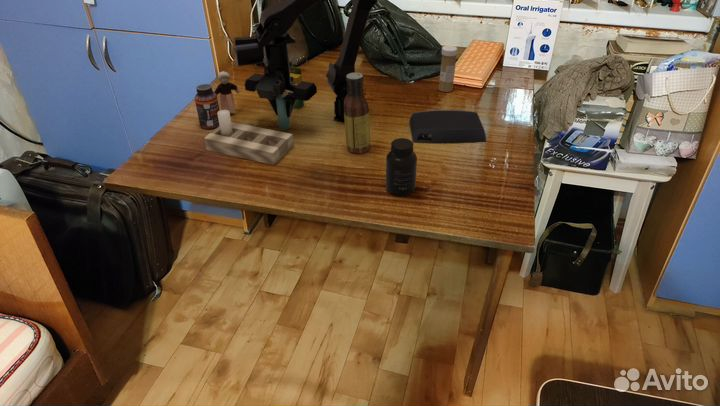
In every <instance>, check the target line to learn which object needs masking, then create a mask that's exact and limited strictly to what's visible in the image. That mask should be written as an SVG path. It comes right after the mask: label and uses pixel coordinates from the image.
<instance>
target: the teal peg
mask: <svg viewBox="0 0 720 406" xmlns="http://www.w3.org/2000/svg"><path fill="white" fill-rule="evenodd" d="M284 97H285V95H279V96H277V97H276V104H277V113H278V116H277V120H278V129H279V130H280V131H288V130H289V129H291V122H290V117H289V118H288V117H287V113H286V102H285V100H284V99H283V98H284Z"/></svg>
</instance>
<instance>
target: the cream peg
mask: <svg viewBox="0 0 720 406" xmlns="http://www.w3.org/2000/svg"><path fill="white" fill-rule="evenodd" d="M219 110H220V111H218V112H217V114H218V119H219V126H220V130H221V135H222V136H226V137H230V136H231V135H233V130H232V124H231V122H232V119H231V114H230V112H229V111H228V110H221V109H219Z"/></svg>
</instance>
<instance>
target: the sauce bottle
mask: <svg viewBox="0 0 720 406" xmlns="http://www.w3.org/2000/svg"><path fill="white" fill-rule="evenodd" d="M346 81H347V87H348V90H347V92H348V94H347V96H346V97H345V100H344V118H345V122H344V131H345V144H346V148H347V150H348V152H351V153H352V154H363V153H366V152H368V151H369V150H370V148H371V126H370V125H371V123H370V120H371V119H370V107H369V102H368V101H367V99H366V97H365V93H364V85H363V84H364V83H363V82H364V75H363V74H362V73H361V72H355V73H350V74H348V75H347V76H346Z"/></svg>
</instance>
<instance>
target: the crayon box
mask: <svg viewBox="0 0 720 406" xmlns="http://www.w3.org/2000/svg"><path fill="white" fill-rule="evenodd" d="M290 76H291V77H293V81H292V82H291V84H299V83H301V82H302V81H303V75H302V68H301V67H294V66H291V67H290ZM282 95H285V96H286V95H287V91H284V93H283V94H282ZM304 105H305V101H302V100H296V102H295V104H294V107H293V109H299V110H300V109H301V108H302V107H303V106H304Z"/></svg>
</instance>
